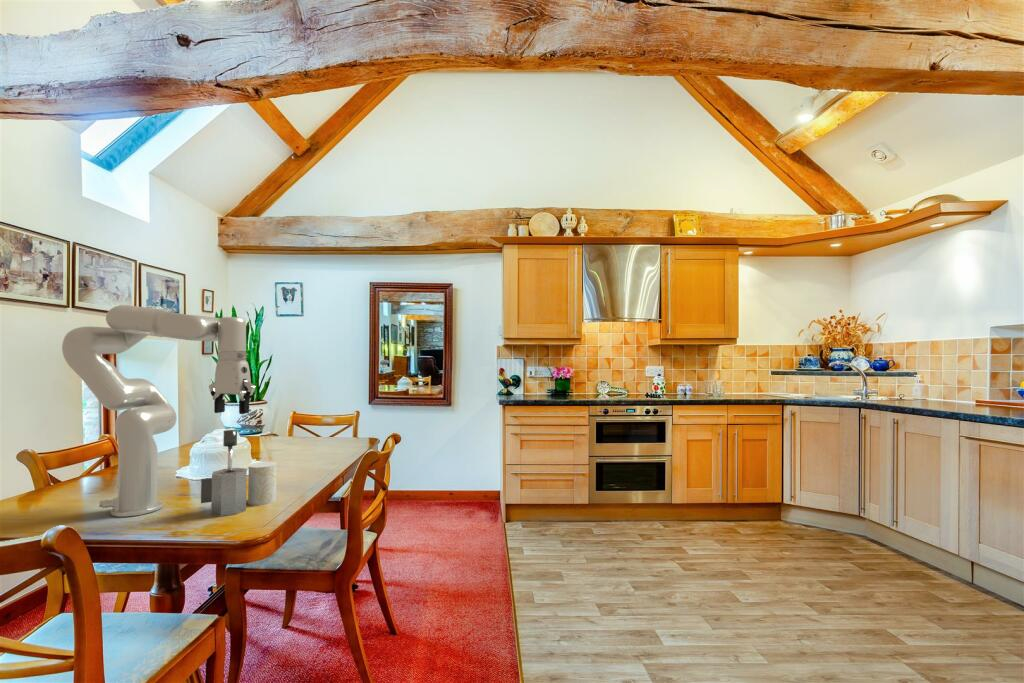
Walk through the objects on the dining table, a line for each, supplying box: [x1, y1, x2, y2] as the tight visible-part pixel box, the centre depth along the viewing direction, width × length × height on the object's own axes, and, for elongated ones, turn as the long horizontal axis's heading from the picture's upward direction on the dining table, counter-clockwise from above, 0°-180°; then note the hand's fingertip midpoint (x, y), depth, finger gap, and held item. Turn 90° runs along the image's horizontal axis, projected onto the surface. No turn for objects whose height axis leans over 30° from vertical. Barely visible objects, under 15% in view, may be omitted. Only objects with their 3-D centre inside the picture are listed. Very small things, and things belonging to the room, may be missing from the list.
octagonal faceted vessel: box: [200, 467, 248, 517], centre depth 147 cm, size 12×9×12 cm
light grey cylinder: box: [247, 461, 278, 506], centre depth 157 cm, size 8×8×12 cm
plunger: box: [222, 429, 238, 473], centre depth 148 cm, size 4×4×17 cm
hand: (231, 412), depth 149 cm, fingers open, 9 cm apart
